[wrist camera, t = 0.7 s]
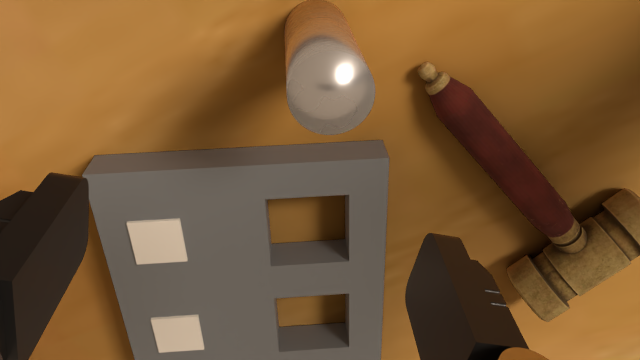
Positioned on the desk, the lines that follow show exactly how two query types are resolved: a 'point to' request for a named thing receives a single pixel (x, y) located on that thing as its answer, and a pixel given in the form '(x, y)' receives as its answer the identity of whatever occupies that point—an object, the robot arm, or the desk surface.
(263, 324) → the pin board
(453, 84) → the gavel
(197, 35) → the desk surface
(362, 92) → the steel pin
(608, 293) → the desk surface
